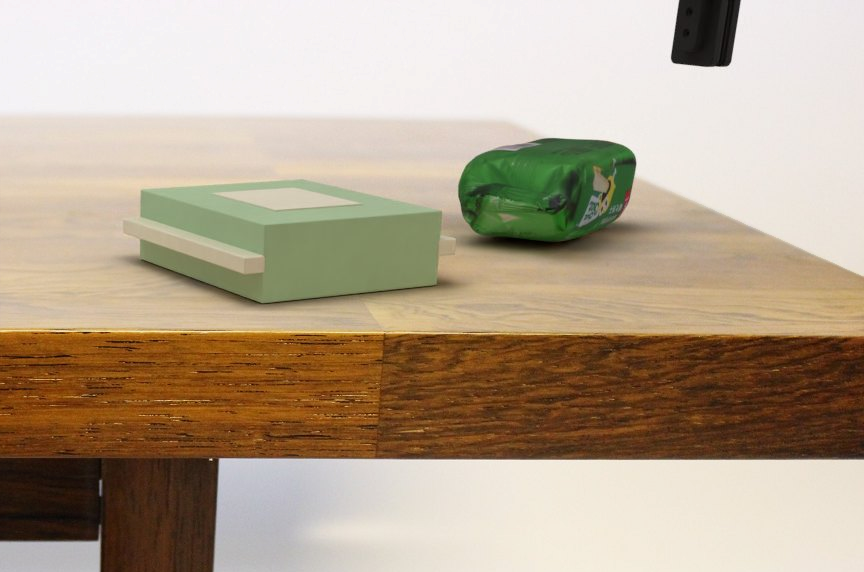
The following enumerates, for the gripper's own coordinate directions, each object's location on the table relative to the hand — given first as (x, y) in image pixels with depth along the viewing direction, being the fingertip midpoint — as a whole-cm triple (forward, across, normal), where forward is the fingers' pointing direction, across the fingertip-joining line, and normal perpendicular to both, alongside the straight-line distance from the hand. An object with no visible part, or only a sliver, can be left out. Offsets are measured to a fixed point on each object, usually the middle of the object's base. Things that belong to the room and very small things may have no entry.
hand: (699, 64), depth 88 cm
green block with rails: (+10, -31, -4) cm, 33 cm away
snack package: (+10, -11, -1) cm, 15 cm away
